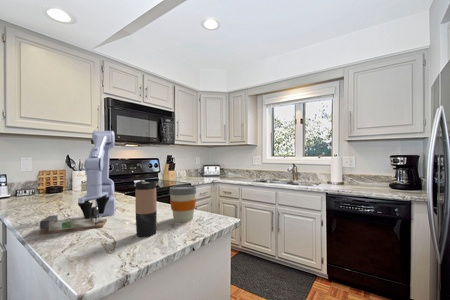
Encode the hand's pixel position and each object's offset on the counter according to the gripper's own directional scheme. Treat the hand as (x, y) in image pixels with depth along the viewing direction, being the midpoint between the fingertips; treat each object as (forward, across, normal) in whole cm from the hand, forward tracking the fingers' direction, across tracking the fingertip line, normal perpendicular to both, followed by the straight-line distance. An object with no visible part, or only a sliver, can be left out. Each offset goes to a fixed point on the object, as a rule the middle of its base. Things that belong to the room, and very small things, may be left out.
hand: (94, 216), depth 94 cm
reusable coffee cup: (+4, -14, +36) cm, 39 cm away
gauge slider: (+2, +1, +1) cm, 2 cm away
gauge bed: (+4, +4, -6) cm, 8 cm away
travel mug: (+4, +6, +29) cm, 30 cm away
